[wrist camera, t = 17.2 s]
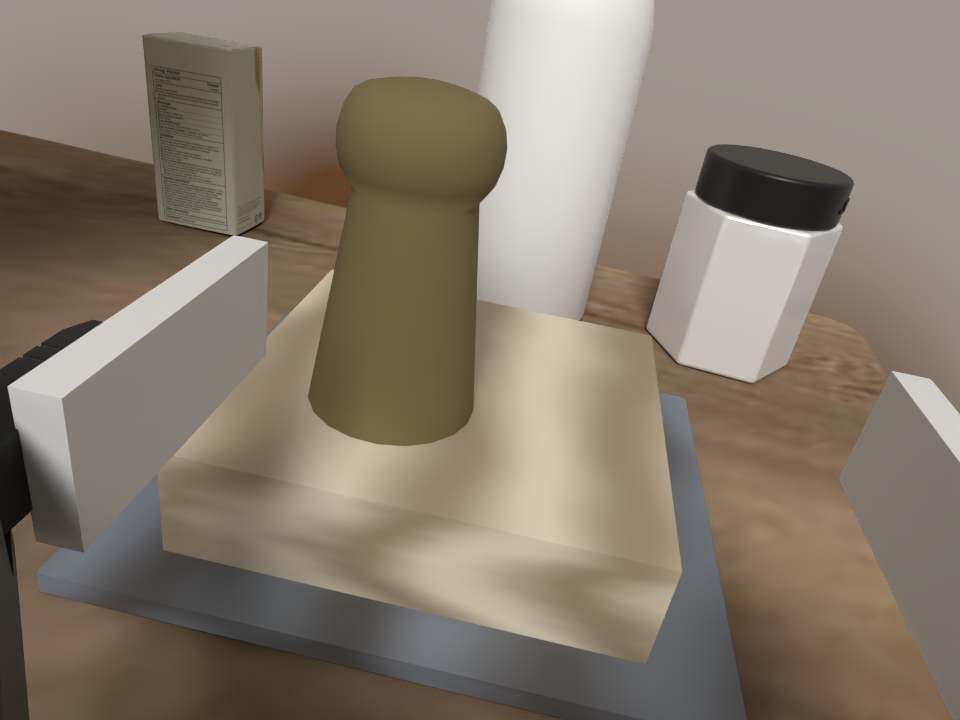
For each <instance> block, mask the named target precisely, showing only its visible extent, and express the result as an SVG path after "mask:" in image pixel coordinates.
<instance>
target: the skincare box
mask: <svg viewBox="0 0 960 720" xmlns="http://www.w3.org/2000/svg"><path fill="white" fill-rule="evenodd" d="M143 47H144V59H145V68H146V81H147V92H148V104H149V115H150V127H151V138H152V149H153V161H154V174H155V184H156V196H157V208H158V218H159V220H162V221H167V222H171V223H176V224H180V225H185V226H190V227H195V228H199V229H204V230H209V231H213V232H218V233H223V234H228V235H235V236H237V235H239V234H240V233H242V232H244V231H246V230H248V229H250V228H252V227H254V226H255V225H257V224H259V223H261V222H262V221H264V157H263V156H264V155H263V154H264V153H263V89H262V84H263V83H262V47H261V46H256V45H251V44H244V43H239V42H233V41H227V40H220V39H216V38H209V37H203V36H198V35H192V34H187V33H183V32H174V33H173V32H172V33H171V32H170V33H154V34H147V35H143Z"/></svg>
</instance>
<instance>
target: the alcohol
mask: <svg viewBox="0 0 960 720" xmlns="http://www.w3.org/2000/svg"><path fill="white" fill-rule="evenodd" d="M653 21H654V0H492V2H491V5H490V12H489V19H488V25H487V32H486V39H485V46H484V52H483V60H482V66H481V73H480V80H479V87H478V93H477V94H479V95H481V96H483V97H485V98H487V99H488V100H489V101H490V102H492V103H493V104H494V105H495V106H496V107H497V108H498V110H499V112H500V114H501V117H502V119H503V122H504V125H505V128H506V133H507V154H506V159H505V164H504V169H503V171H502V173H501V175H500V178H499V180H498V182H497V184H496V186H495V188H494V189H493V190H492V191H491V192H490V193H489V194H488V195H487V196H486V197H485V199H484V200H483V201H482V202H481V203H480V206H479V239H478V272H477V300H481V301H486V302H491V303H496V304H500V305H505V306H510V307H515V308H520V309H525V310H529V311H534V312H539V313H544V314H549V315H553V316H558V317H563V318H568V319H573V320H577V321H579V320H580V319H581V318H582V316H583V315H584V311H585V307H586V303H587V299H588V295H589V291H590V287H591V283H592V279H593V275H594V271H595V267H596V263H597V259H598V255H599V251H600V247H601V243H602V239H603V235H604V230H605V227H606V223H607V218H608V215H609V211H610V207H611V203H612V199H613V195H614V190H615V186H616V182H617V178H618V174H619V170H620V166H621V162H622V158H623V154H624V150H625V145H626V142H627V138H628V134H629V129H630V126H631V122H632V118H633V114H634V110H635V106H636V101H637V98H638V94H639V89H640V86H641V82H642V77H643V74H644V69H645V65H646V61H647V57H648V53H649V49H650V45H651V41H652V37H653Z"/></svg>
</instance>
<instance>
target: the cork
mask: <svg viewBox="0 0 960 720" xmlns="http://www.w3.org/2000/svg"><path fill="white" fill-rule="evenodd" d="M336 149H337V155H338V160H339V165H340V167H341V169H342V171H343V172H344V174H345V176H346V178H347V179H348V181H349V182H350V184H351V186H352V188H351V193H350V197H349V202H348V207H347V212H346V216H345V221H344V226H343V231H342V235H341V240H340V245H339V250H338V255H337V259H336V264H335V269H334V274H333V278H332V283H331V288H330V293H329V297H328V302H327V307H326V312H325V317H324V321H323V326H322V331H321V336H320V340H319V345H318V350H317V355H316V359H315V364H314V369H313V374H312V379H311V383H310V388H309V393H308V399H309V402H310V404H311V407H312V409H313V412H314V413H315V414H316V415H317V416H318V417H319V418H320V419H321V420H323V421H324V422H325V423H326V424H327V425H328V426H330V427H331V428H333V429H335V430H337V431H339V432H341V433H343V434H345V435H347V436H349V437H352V438H356V439H359V440H363V441H367V442H371V443H375V444H382V445H396V446H411V445H419V444H427V443H433V442H436V441H439V440H441V439H444V438H447V437H449V436H452V435H454V434H455V433H457V432H458V431H459V430H460V429H462V428H463V427H464V426H465V425H466V424H468V421H469V419H470V417H471V414H472V412H473V404H474V371H475V338H476V305H477V272H478V239H479V206H480V203H481V202H482V201H483V200H484V199H485V197H486V196H487V195H488V194H489V193H490V192H491V191H492V190H493V189H494V188H495V186H496V184H497V182H498V180H499V178H500V175H501V173H502V171H503V169H504V164H505V159H506V154H507V133H506V128H505V125H504V122H503V119H502V117H501V114H500V112H499V110H498V108H497V107H496V106H495V105H494V104H493V103H492V102H490V101H489V100H488V99H487V98H485V97H483V96H481V95H479V94H476V93H474V92H472V91H470V90H468V89H465V88H462V87H460V86H457V85H453V84H450V83H447V82H443V81H439V80H434V79H428V78H419V77H386V78H377V79H371V80H367V81H365V82H363V83H361V84H359V85H357V86H355V87H354V88H353V90H352V91H351V92H350V94H349V95H348V97H347V98H346V100H345V101H344V103H343V106H342V109H341V112H340V116H339V119H338V122H337V128H336Z"/></svg>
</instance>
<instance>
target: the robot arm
mask: <svg viewBox="0 0 960 720" xmlns="http://www.w3.org/2000/svg"><path fill="white" fill-rule="evenodd" d="M267 274H268V242H264V241H260V240H255V239H250V238H245V237H240V236H235V235H233V236H232V237H230V238H229V239H227V240H226V241H224V242H223V243H221V244H220V245H218V246H217V247H215V248H214V249H212V250H211V251H209V252H208V253H206V254H205V255H203V256H202V257H200V258H199V259H197V260H196V261H194V262H193V263H191V264H190V265H188V266H187V267H185V268H184V269H182V270H181V271H179V272H178V273H176V274H175V275H173V276H172V277H170V278H169V279H167V280H166V281H164V282H163V283H161V284H160V285H158V286H157V287H155V288H154V289H152V290H151V291H149V292H148V293H146V294H145V295H143V296H142V297H140V298H139V299H137V300H136V301H134V302H133V303H131V304H130V305H128V306H127V307H125V308H124V309H122V310H121V311H119V312H118V313H116V314H115V315H113V316H112V317H110V318H109V319H107V320H106V321H104V322H101V321H96V320H91V321H88V322H85V323H82V324H79V325H76V326H72V327H69V328H66V329H63V330H62V331H60V332H58V333H57V334H55V335H54V336H52V337H51V338H49V339H47V340H46V341H44V342H43V343H41V347H39V346H36V347H35V348H33V349H32V350H30V351H28V352H27V353H25V354H24V355H23V358H17V359H16V360H14V361H13V362H11V363H9V364H8V365H6V366H5V367H3V368H2V369H0V720H29V711H28V699H27V687H26V676H25V664H24V652H23V640H22V629H21V617H20V605H19V593H18V582H17V570H16V558H15V546H14V541H13V536H12V531H11V529H12V528H13V527H14V526H15V525H16V524H17V523H18V522H20V521H21V520H22V519H23V518H24V517H25V516H26V515H27V514H28V513H29V512H31V516H32V522H33V527H34V532H35V538H36V541H37V542H41V543H45V544H49V545H53V546H57V547H62V548H66V549H70V550H74V551H78V552H83V553H84V552H85V551H86V550H87V549H88V548H89V547H90V546H91V545H92V544H93V542H94V541H95V540H96V539H97V538H98V537H99V536H100V535H101V534H102V533H103V532H104V531H105V529H106V528H107V527H108V526H109V525H110V524H111V523H112V522H113V521H114V520H115V519H116V517H117V516H118V515H119V514H120V513H121V512H122V511H123V510H124V509H125V508H126V507H127V506H128V504H129V503H130V502H131V501H132V500H133V499H134V498H135V497H136V496H137V495H138V494H139V493H140V491H141V490H142V489H143V488H144V487H145V486H146V485H147V484H148V483H149V482H150V481H151V479H152V478H153V477H154V476H155V475H156V474H157V473H158V472H159V471H160V470H161V469H162V468H163V466H164V465H165V464H166V463H167V462H168V461H169V460H170V459H171V458H172V457H173V456H174V455H175V453H176V452H177V451H178V450H179V449H180V448H181V447H182V446H183V445H184V444H185V443H186V441H187V440H188V439H189V438H190V437H191V436H192V435H193V434H194V433H195V432H196V431H197V430H198V428H199V427H200V426H201V425H202V424H203V423H204V422H205V421H206V420H207V419H208V418H209V416H210V415H211V414H212V413H213V412H214V411H215V410H216V409H217V408H218V407H219V406H220V405H221V403H222V402H223V401H224V400H225V399H226V398H227V397H228V396H229V395H230V394H231V393H232V392H233V390H234V389H235V388H236V387H237V386H238V385H239V384H240V383H241V382H242V381H243V380H244V378H245V377H246V376H247V375H248V374H249V373H250V372H251V371H252V370H253V369H254V368H255V367H256V365H257V364H258V363H259V362H260V361H261V360H262V359H263V358H264V357H265V356H266V339H267ZM839 481H840V483H841V485H842V488H843V490H844V492H845V494H846V496H847V498H848V500H849V502H850V504H851V507H852V509H853V511H854V513H855V515H856V517H857V519H858V521H859V523H860V526H861V528H862V530H863V532H864V534H865V536H866V538H867V540H868V542H869V545H870V547H871V549H872V551H873V553H874V555H875V557H876V559H877V561H878V564H879V566H880V568H881V570H882V572H883V574H884V576H885V578H886V580H887V583H888V585H889V587H890V589H891V591H892V593H893V595H894V597H895V599H896V602H897V604H898V606H899V608H900V610H901V612H902V614H903V616H904V618H905V621H906V623H907V625H908V627H909V629H910V631H911V633H912V635H913V637H914V640H915V642H916V644H917V646H918V648H919V650H920V652H921V654H922V656H923V659H924V661H925V663H926V665H927V667H928V669H929V671H930V673H931V676H932V678H933V680H934V682H935V684H936V686H937V688H938V690H939V692H940V695H941V697H942V699H943V701H944V703H945V705H946V707H947V709H948V711H949V714H950V716H951V718H952V720H960V415H959V413H958V412H957V411H956V409H955V408H954V407H953V406H952V405H951V403H950V402H949V401H948V400H947V399H946V398H945V396H944V395H943V394H942V392H941V391H940V390H939V389H938V388H937V387H936V385H935V384H934V383H933V382H932V380H931V379H928V378H922V377H918V376H914V375H909V374H903V373H899V372H894V371H892V372H891V374H890V376H889V378H888V380H887V382H886V384H885V386H884V388H883V390H882V392H881V394H880V396H879V398H878V400H877V402H876V404H875V406H874V408H873V410H872V412H871V414H870V416H869V418H868V420H867V422H866V424H865V426H864V428H863V430H862V432H861V434H860V436H859V438H858V440H857V442H856V444H855V446H854V448H853V450H852V452H851V454H850V456H849V458H848V460H847V462H846V464H845V466H844V468H843V470H842V472H841V474H840V476H839Z"/></svg>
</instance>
